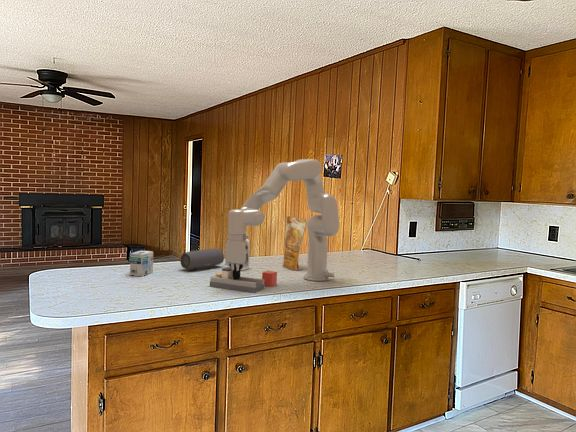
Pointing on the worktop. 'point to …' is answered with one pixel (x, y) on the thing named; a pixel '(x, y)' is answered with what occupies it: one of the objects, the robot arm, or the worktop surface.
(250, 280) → the gray rectangular tray
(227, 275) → the breaker lever
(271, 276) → the block
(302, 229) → the pancake mix bag
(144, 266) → the light bulb box
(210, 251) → the bluetooth speaker
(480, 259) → the worktop surface
